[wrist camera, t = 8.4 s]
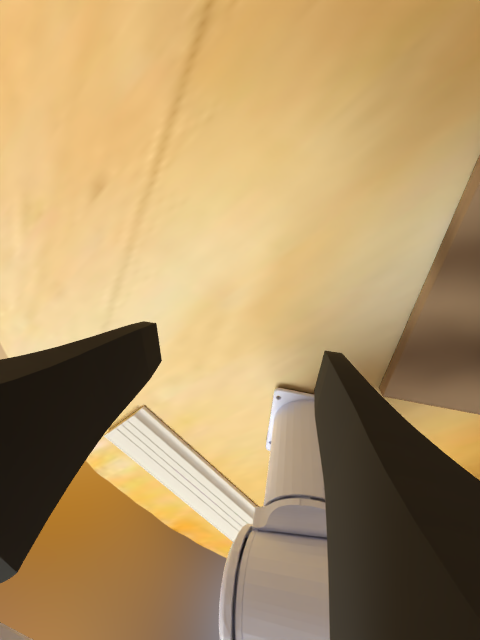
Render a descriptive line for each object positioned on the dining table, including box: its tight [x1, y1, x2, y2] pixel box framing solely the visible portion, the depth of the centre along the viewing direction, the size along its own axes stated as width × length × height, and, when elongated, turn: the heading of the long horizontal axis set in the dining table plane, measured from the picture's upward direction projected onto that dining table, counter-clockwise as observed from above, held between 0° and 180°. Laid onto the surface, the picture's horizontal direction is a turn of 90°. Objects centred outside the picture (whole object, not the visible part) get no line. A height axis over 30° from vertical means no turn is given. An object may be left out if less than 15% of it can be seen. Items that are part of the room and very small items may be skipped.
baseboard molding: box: [104, 406, 257, 542], centre depth 33 cm, size 31×3×12 cm
